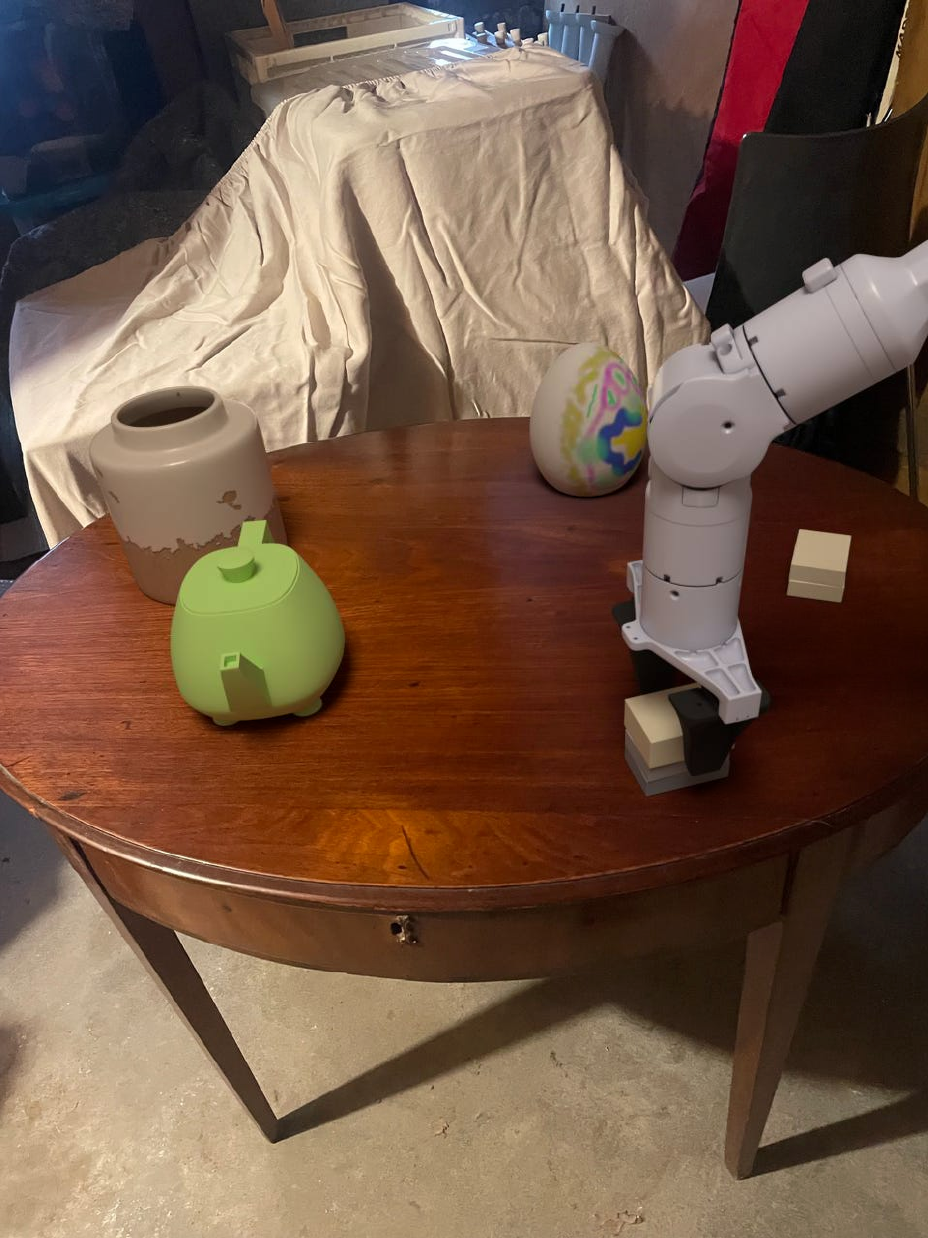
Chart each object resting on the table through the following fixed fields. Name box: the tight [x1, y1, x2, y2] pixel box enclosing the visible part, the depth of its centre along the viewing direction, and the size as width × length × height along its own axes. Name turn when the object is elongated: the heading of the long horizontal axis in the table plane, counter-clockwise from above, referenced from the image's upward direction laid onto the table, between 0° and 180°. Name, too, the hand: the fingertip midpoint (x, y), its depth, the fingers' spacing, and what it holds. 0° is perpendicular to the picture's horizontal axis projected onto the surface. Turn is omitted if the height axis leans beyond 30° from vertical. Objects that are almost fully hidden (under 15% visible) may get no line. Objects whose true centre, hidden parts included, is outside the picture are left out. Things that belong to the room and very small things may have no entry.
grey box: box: [624, 729, 731, 798], centre depth 60 cm, size 6×4×3 cm, turn 104°
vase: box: [88, 385, 289, 606], centre depth 83 cm, size 15×15×17 cm
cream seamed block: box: [786, 528, 852, 604], centre depth 76 cm, size 6×4×3 cm
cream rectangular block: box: [623, 682, 736, 769], centre depth 58 cm, size 6×4×2 cm
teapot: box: [169, 520, 346, 727], centre depth 68 cm, size 20×13×13 cm
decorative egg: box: [529, 341, 648, 498], centre depth 91 cm, size 12×12×15 cm
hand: (678, 729), depth 59 cm, fingers open, 7 cm apart
